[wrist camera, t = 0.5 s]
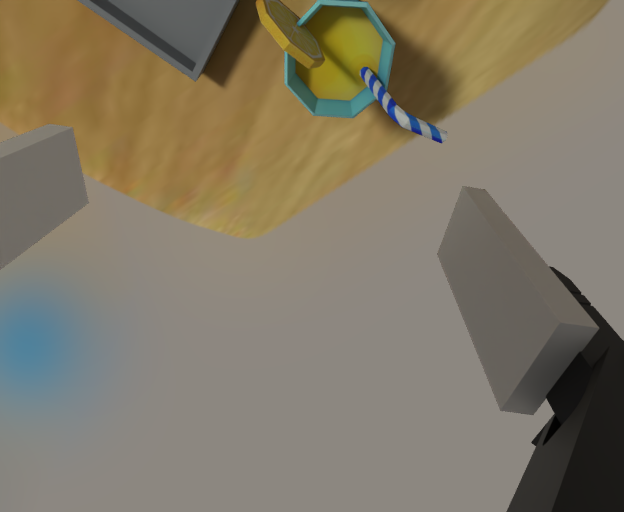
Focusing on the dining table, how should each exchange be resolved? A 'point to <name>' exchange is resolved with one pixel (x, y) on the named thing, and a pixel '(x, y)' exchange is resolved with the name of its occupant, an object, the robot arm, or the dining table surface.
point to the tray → (171, 27)
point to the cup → (338, 60)
